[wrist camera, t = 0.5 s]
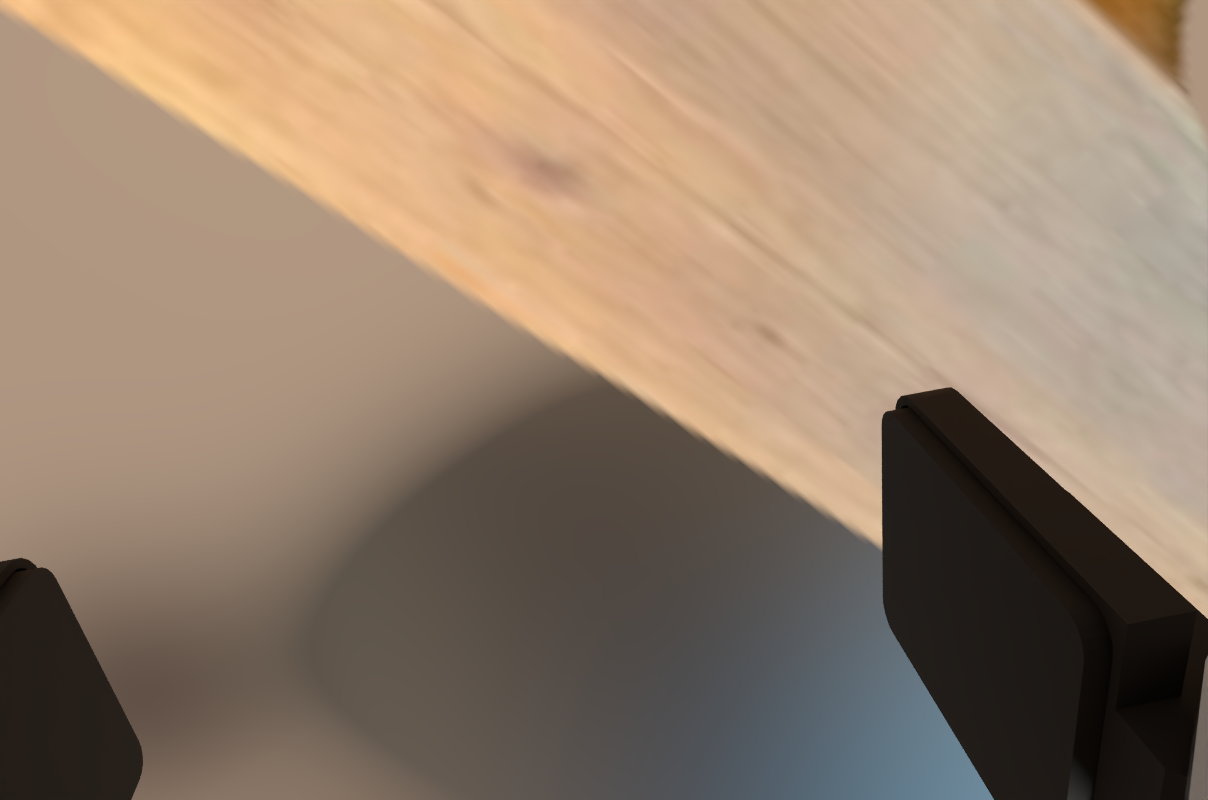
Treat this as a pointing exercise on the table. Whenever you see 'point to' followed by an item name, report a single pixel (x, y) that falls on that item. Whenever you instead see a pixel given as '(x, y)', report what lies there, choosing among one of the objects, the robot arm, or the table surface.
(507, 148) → the table surface
